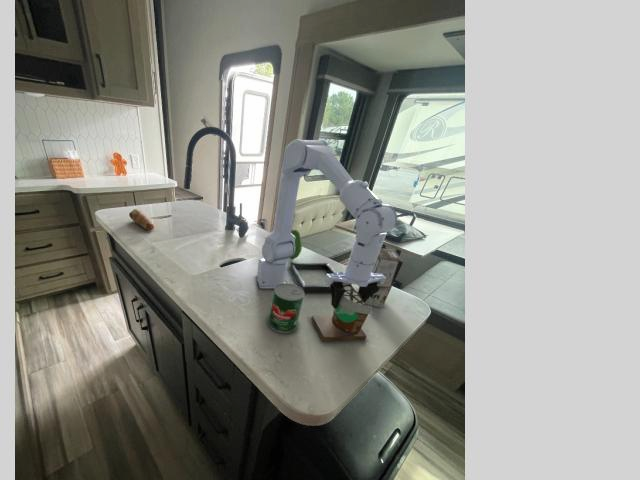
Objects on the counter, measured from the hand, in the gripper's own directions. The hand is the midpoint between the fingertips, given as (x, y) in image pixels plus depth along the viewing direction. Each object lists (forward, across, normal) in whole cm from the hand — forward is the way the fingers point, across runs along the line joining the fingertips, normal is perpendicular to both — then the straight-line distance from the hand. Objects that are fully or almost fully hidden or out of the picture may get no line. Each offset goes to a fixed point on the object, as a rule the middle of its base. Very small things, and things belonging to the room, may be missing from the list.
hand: (345, 306), depth 70 cm
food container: (+6, 0, 0) cm, 6 cm away
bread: (+8, -66, +79) cm, 103 cm away
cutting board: (+8, 0, 0) cm, 8 cm away
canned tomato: (+8, -15, +3) cm, 17 cm away
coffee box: (+8, +18, +15) cm, 25 cm away
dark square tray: (+8, +3, +27) cm, 28 cm away
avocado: (+2, -2, +44) cm, 44 cm away
